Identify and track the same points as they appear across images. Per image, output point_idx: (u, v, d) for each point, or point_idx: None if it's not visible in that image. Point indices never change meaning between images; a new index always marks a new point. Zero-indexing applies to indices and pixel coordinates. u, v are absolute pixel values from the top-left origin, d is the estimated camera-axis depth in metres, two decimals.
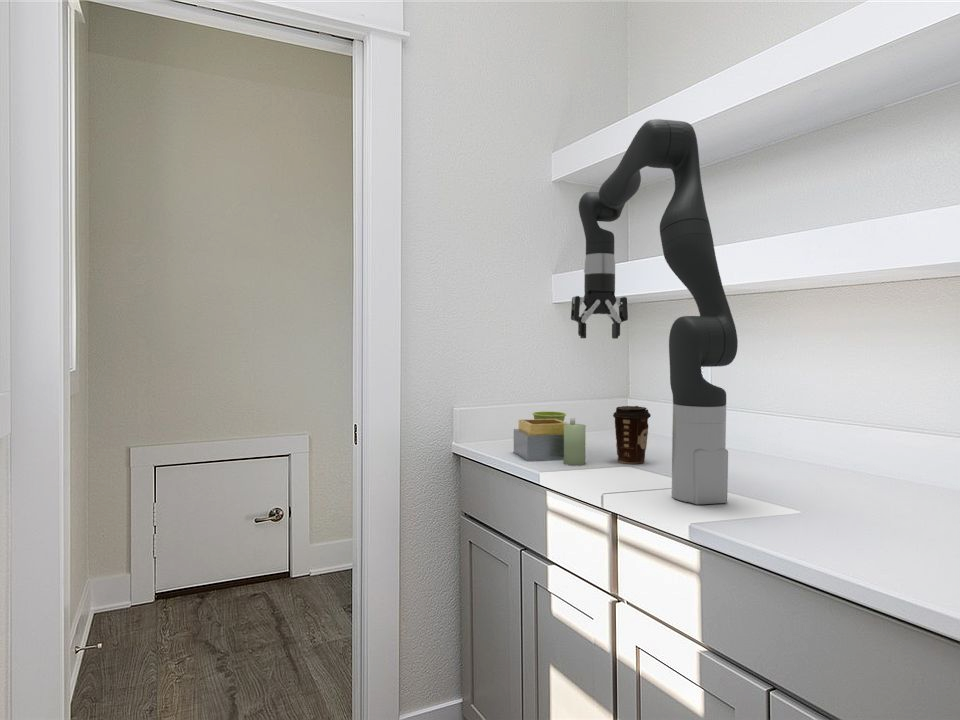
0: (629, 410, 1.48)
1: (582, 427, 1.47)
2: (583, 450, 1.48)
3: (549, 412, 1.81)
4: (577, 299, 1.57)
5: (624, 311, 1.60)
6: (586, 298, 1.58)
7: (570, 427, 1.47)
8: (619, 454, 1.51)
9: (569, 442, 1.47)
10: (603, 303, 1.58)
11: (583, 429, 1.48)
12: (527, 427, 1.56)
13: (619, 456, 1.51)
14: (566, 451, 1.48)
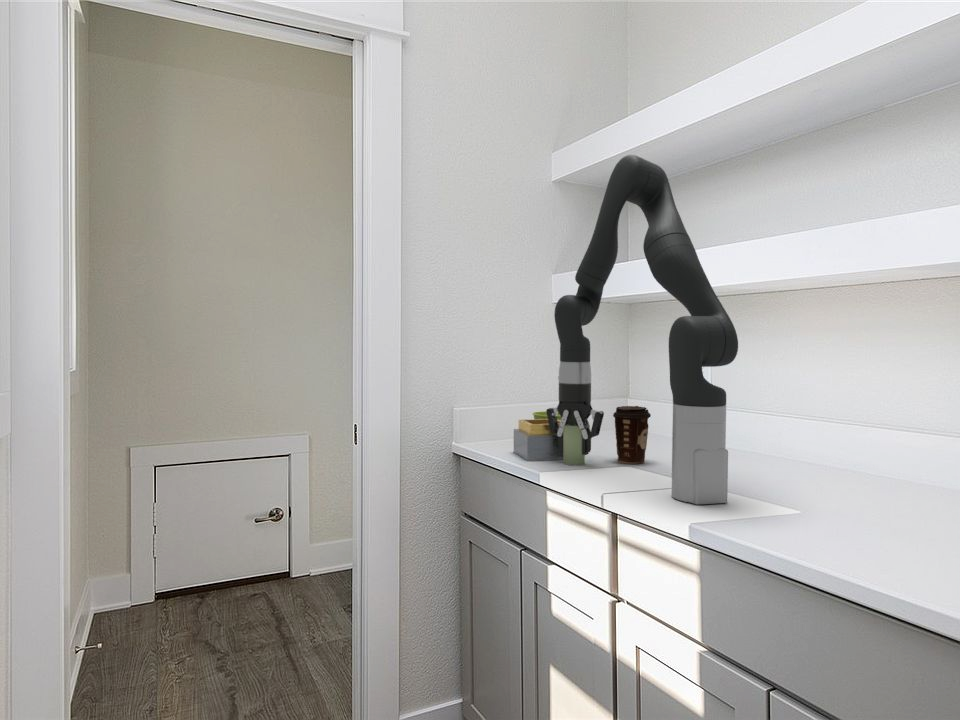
0: (629, 410, 1.48)
1: None
2: None
3: None
4: None
5: None
6: None
7: (569, 427, 1.47)
8: (619, 454, 1.51)
9: (569, 442, 1.48)
10: None
11: None
12: (527, 427, 1.56)
13: (619, 456, 1.51)
14: (566, 451, 1.48)
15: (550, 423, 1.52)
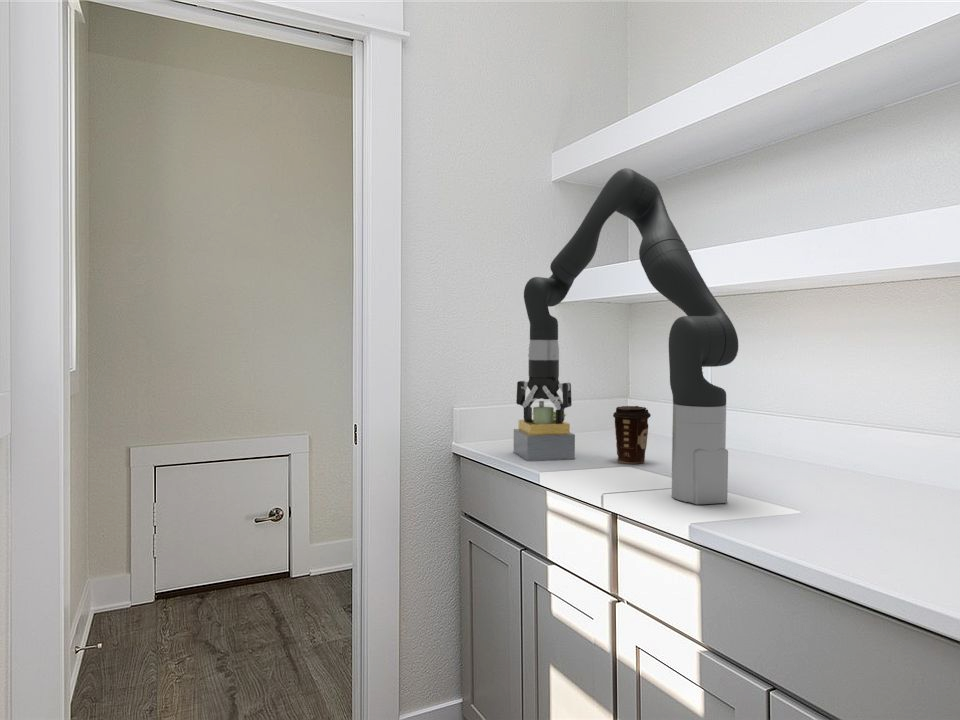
0: (629, 410, 1.48)
1: (550, 409, 1.57)
2: None
3: None
4: None
5: None
6: None
7: (539, 409, 1.57)
8: (619, 454, 1.51)
9: (538, 423, 1.57)
10: None
11: (551, 411, 1.57)
12: (527, 427, 1.56)
13: (619, 456, 1.51)
14: None
15: (518, 395, 1.61)
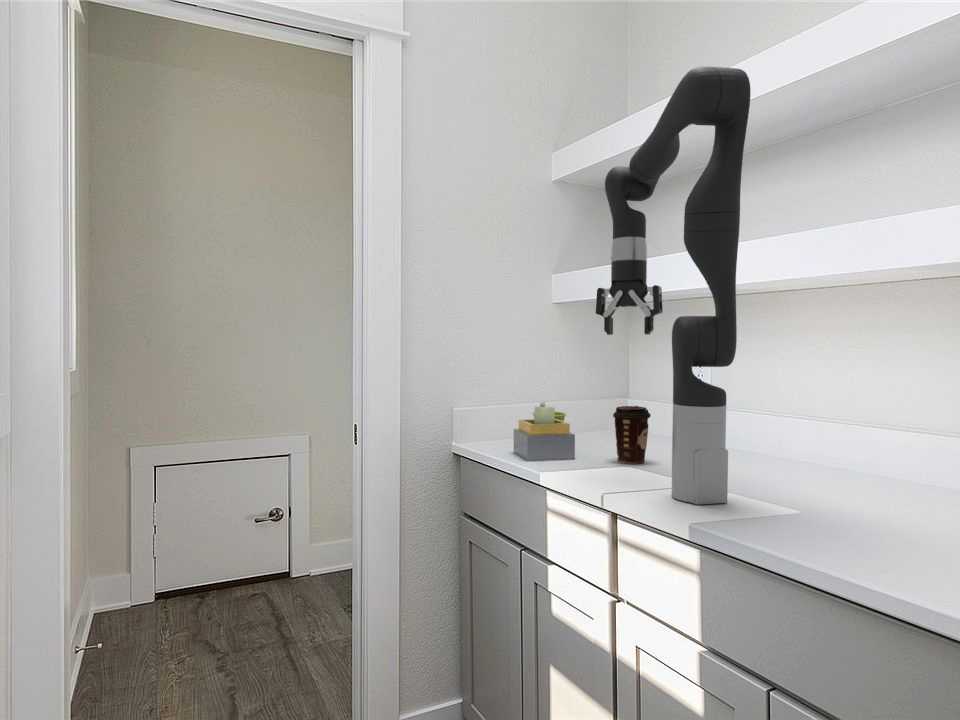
0: (629, 410, 1.48)
1: (551, 409, 1.57)
2: None
3: None
4: None
5: None
6: None
7: (540, 409, 1.57)
8: (619, 454, 1.51)
9: (540, 422, 1.57)
10: None
11: (552, 411, 1.57)
12: (527, 427, 1.56)
13: (619, 456, 1.51)
14: None
15: (598, 303, 1.42)
